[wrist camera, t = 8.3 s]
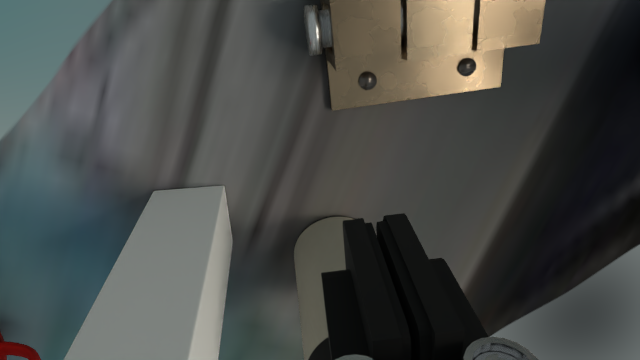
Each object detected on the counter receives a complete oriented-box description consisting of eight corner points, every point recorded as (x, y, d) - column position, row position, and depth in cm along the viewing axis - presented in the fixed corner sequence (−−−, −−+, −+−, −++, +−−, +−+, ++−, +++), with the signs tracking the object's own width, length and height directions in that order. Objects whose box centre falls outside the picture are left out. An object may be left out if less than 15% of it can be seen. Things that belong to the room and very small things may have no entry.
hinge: (514, -100, 27) (561, -116, 23) (496, 85, 33) (531, 100, 29) (312, -78, 26) (321, -89, 22) (331, 108, 32) (341, 128, 28)
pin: (518, -23, 29) (546, -24, 26) (513, 24, 30) (539, 29, 27) (302, 4, 28) (306, 7, 25) (307, 51, 29) (312, 59, 26)
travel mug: (280, 269, 39) (291, 469, 23) (314, 203, 36) (352, 380, 20) (352, 289, 41) (406, 484, 25) (388, 229, 38) (475, 406, 22)
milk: (233, 240, 37) (199, 535, 18) (166, 247, 36) (54, 559, 17) (224, 182, 34) (172, 456, 15) (151, 188, 34) (-3, 481, 14)
